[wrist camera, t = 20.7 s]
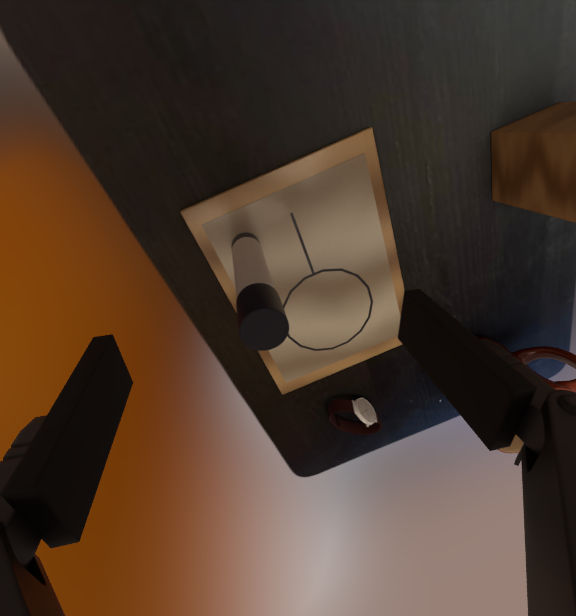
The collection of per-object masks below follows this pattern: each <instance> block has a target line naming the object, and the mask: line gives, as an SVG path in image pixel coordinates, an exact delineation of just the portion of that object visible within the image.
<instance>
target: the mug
mask: <svg viewBox="0 0 576 616" xmlns="http://www.w3.org/2000/svg"><path fill="white" fill-rule="evenodd" d="M477 338H479V339H485V337H477ZM486 339H488V340H490V341H492V342H495V343H497V342H496V341H493V340H491V339H489V338H486ZM497 344H499V343H497ZM499 345H500V344H499ZM500 346H502V347H503V348H504V349H505V350H507V349H506V348H505V347H504V346H503V345H500ZM507 351H508V352H509V353H511V356H514V357H516V358H517V359H518V360H519V361H520V363H523V364H524V365H526V364H527V363H529V362H530V361H532V360H535V359H538V358H552V359H556V360H559V361H562V362H564V363H566V364H568V365H570V366H572V367H574V368H575V369H576V355H575V354H573V353H570V352H568V351H565V350H562V349H559V348H554V347H547V346H540V347H532V348H525V349H521V350H518V351H516V352H510V351H509V350H507ZM526 366H527V365H526ZM527 367H528V366H527ZM528 368H529V367H528ZM529 369H531V368H529ZM531 370H532V369H531ZM532 371H533V370H532ZM533 372H534V371H533ZM534 373H536V372H534ZM536 374H537V373H536ZM537 375H538V376H539V377H541V378H542V379H543V380H544V381H546V382H547V383H548V384H549V385H551V386H552V387H553V388H554V389H556V390H559V389H562V390H568V391H572V392H575V393H576V379H574V380H570V381H556V382H553V381H551V380H549V379H546V378H544V377H543V376H541V375H539V374H537ZM523 443H524V442H523V441H522V440H521V439H520V438H519V437H518V436H517V435H515V437H514V439H513V441H512V444H511V446H510V447H505V448H501V449H498V450H499V451H501V452H504V453H519V452H520V450H521V448H522V446H523Z"/></svg>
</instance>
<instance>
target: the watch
mask: <svg viewBox="0 0 576 616" xmlns="http://www.w3.org/2000/svg"><path fill="white" fill-rule="evenodd" d="M339 411H349V412H353V413H355V414H356V415H357V416H358V417H359V419H360V420H361V421H362V422H364V423H357V422H351V421H348V420H345V419H343V418H341V417H339V416H337V415H334V414H333V413H335V412H339ZM328 412H329V420H330V422H331V423H332V424H333V425H334V426H335V427H337V428H338V429H339V430H342V431H348V432H350V433H355V434H364V435H365V434H373V433H376V432H379V431H380V430H381V429H382V425H381V422H380V419H379V416H378V414H377V413H376V412H375V411H374V408H373V407H372V405H371V404H370V403H369V402H368V401H367V400H366V399H364V398H358V399H356V400H355V401H353V400H352V401H350V400H347V399H338V400H334V401H332V402H331V403H330V404H329V405H328Z"/></svg>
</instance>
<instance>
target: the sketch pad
mask: <svg viewBox="0 0 576 616" xmlns="http://www.w3.org/2000/svg"><path fill="white" fill-rule="evenodd" d="M180 213H181V215H182V216H183V218H184V220H185V222H186V223H187V225H188V227H189V229H190V231H191V232H192V234H193V236H194V238H195V240H196V241H197V243H198V245H199V247H200V248H201V250H202V252H203V254H204V256H205V257H206V259H207V261H208V263H209V265H210V266H211V268H212V270H213V272H214V273H215V275H216V277H217V279H218V281H219V282H220V284H221V286H222V288H223V290H224V291H225V293H226V295H227V297H228V298H229V300H230V302H231V304H232V306H233V307H234V309H235V311H236V313H237V307H236V300H237V298H236V288H235V278H234V268H233V258H232V248H231V245H232V241H233V239H234V238H235V237H236V236H237V235H238V234H240V233H245V232H247V233H251V234H253V235H255V236H256V237H257V238H258V240H259V242H260V245H261V248H262V251H263V253H264V256H265V259H266V262H267V265H268V268H269V271H270V273H271V276H272V279H273V282H274V285H275V288H276V291H277V292H278V294H279V297H280V299H281V302H282V305H283V308H284V311H285V313H286V316H287V319H288V322H289V333H288V336H287V338H286V339H285V341H284V342H283V343H282V344H281V345H279V346H278V347H276V348H274V349H271V350H267V351H258V352H259V354H260V356H261V357H262V359H263V361H264V363H265V365H266V366H267V368H268V370H269V372H270V373H271V375H272V377H273V379H274V381H275V382H276V384H277V386H278V388H279V390H280V391H281V393H282V395H283V394H285V393H288V392H290V391H293V390H295V389H297V388H300V387H302V386H304V385H307V384H309V383H312V382H314V381H316V380H319V379H321V378H323V377H326V376H328V375H331V374H333V373H335V372H338V371H340V370H342V369H345V368H347V367H350V366H352V365H354V364H357V363H359V362H361V361H364V360H366V359H369V358H371V357H373V356H376V355H378V354H380V353H383V352H385V351H388V350H390V349H392V348H395V347H397V346H399V345H402V343H401V342H400V341H399V339H398V332H399V325H400V318H401V311H402V303H403V296H404V286H403V281H402V276H401V271H400V266H399V261H398V256H397V251H396V246H395V241H394V236H393V230H392V225H391V220H390V215H389V210H388V205H387V200H386V195H385V190H384V185H383V180H382V175H381V170H380V165H379V160H378V155H377V150H376V145H375V140H374V135H373V130H372V127H369V128H366V129H364V130H362V131H360V132H357V133H355V134H353V135H351V136H348V137H346V138H344V139H341V140H339V141H337V142H335V143H332V144H330V145H328V146H326V147H323V148H321V149H319V150H317V151H314V152H312V153H310V154H308V155H305V156H303V157H301V158H298V159H296V160H294V161H292V162H289V163H287V164H285V165H283V166H280V167H278V168H276V169H274V170H271V171H269V172H267V173H264V174H262V175H260V176H258V177H255V178H253V179H251V180H249V181H246V182H244V183H242V184H240V185H237V186H235V187H233V188H231V189H228V190H226V191H224V192H221V193H219V194H217V195H215V196H212V197H210V198H208V199H206V200H203V201H201V202H199V203H197V204H194V205H192V206H190V207H187V208H185V209H183V210H181V212H180Z"/></svg>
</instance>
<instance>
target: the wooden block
mask: <svg viewBox="0 0 576 616" xmlns="http://www.w3.org/2000/svg"><path fill="white" fill-rule="evenodd" d="M491 154H492V200H493V201H496V202H500V203H504V204H507V205H511V206H515V207H519V208H522V209H526V210H530V211H534V212H537V213H541V214H545V215H549V216H552V217H556V218H560V219H564V220H567V221H571V222H575V223H576V102H562V103H557V104H554V105H552V106H550V107H547V108H545V109H543V110H541V111H538V112H536V113H534V114H531V115H529V116H527V117H525V118H522V119H520V120H518V121H515V122H513V123H511V124H509V125H506V126H504V127H502V128H499V129H497V130H495V131H493V132H491Z"/></svg>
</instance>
